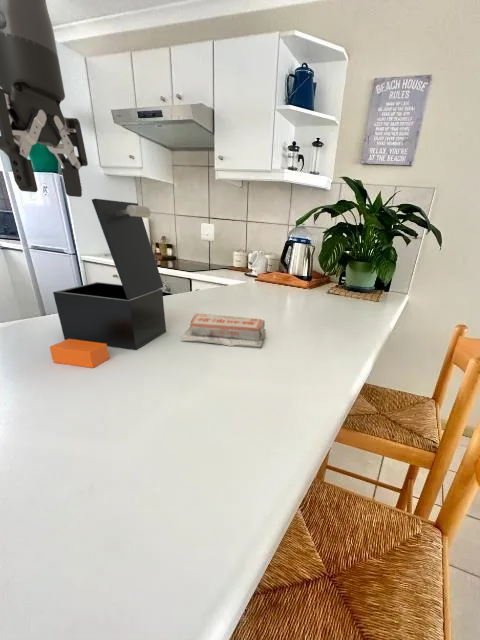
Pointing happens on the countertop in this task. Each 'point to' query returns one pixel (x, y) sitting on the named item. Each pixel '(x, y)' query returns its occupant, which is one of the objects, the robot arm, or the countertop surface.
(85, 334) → the bin
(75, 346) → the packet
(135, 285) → the bin lid
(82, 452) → the countertop surface
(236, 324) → the packaged product
